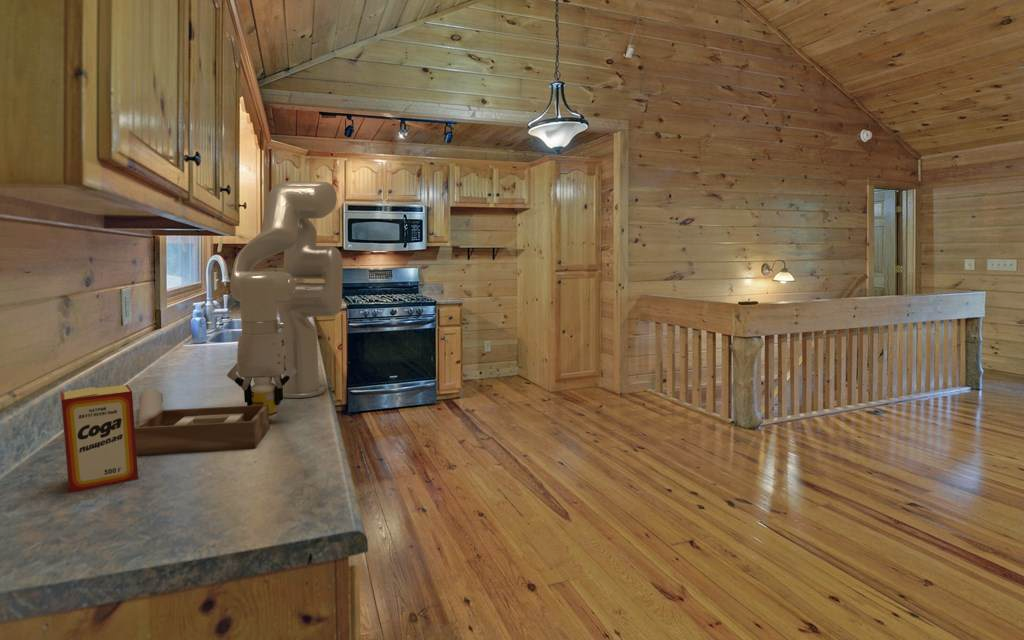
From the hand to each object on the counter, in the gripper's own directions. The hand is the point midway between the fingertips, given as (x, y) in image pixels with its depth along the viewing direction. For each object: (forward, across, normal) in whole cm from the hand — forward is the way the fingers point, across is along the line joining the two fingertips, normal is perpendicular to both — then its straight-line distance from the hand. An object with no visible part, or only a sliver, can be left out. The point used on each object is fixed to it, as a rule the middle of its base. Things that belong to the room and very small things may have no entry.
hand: (264, 403), depth 132 cm
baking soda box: (+4, +20, +31) cm, 37 cm away
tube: (+5, +27, -9) cm, 29 cm away
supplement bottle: (+3, 0, 0) cm, 3 cm away
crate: (+4, +9, +12) cm, 16 cm away
